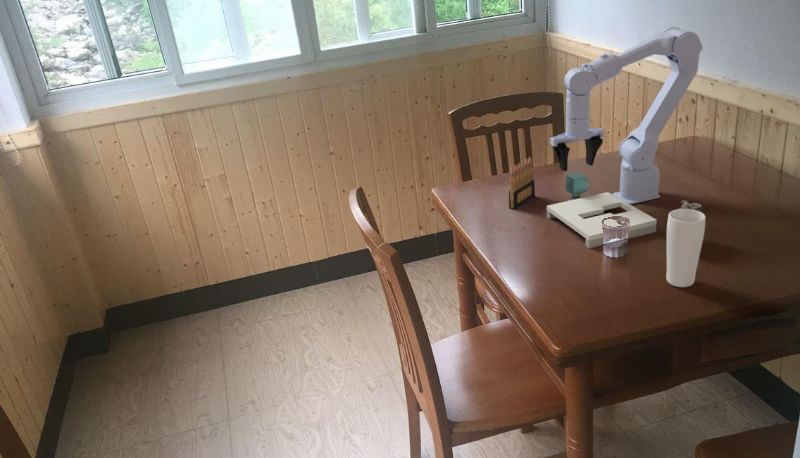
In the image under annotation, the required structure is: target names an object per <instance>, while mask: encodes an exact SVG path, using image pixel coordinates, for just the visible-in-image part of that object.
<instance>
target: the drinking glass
mask: <svg viewBox="0 0 800 458" xmlns="http://www.w3.org/2000/svg"><path fill="white" fill-rule="evenodd" d="M706 219H707V217H706V215H705V214H704V213H703V212H699V211H696V210H692V209H679V208H677V209H673V210H671V211H670V212H669V213H668V217H667V223H666V272H665V273H666V275H665V278H666V281H667V283H668V284H670V285H671V286H674V287H677V288H688V287H691V286H693V285H694V284H695V281H696V280H695V279H696V273H697V268H698V263H699V259H700V257H701V256H700V255H701V252H702V251H701V250H702V246H703V241H704V236H705V230H706Z"/></svg>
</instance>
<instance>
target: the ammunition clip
mask: <svg viewBox="0 0 800 458" xmlns="http://www.w3.org/2000/svg"><path fill="white" fill-rule="evenodd" d="M532 160H533V159H532V156H528V158H525V160H522V161H521V162H518V164H515V165H514V167H513V166H511V169H510V177H509V190H508V208H509V209H511V210H517V209H518V208H519V207H521V206H523V205H524V204H526V203H528V202H529V201H530V200H531V199H533V198H535V197H536V188H535V186H536V185H535V179H534V168H533V161H532Z"/></svg>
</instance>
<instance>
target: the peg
mask: <svg viewBox="0 0 800 458" xmlns="http://www.w3.org/2000/svg"><path fill="white" fill-rule="evenodd" d="M565 191H567V193H570V194H571V195H572V196H569V197H567V201H570V200H575V199H579V198H584V197H582V196H581V194H584V193H588V176H587V175H585V174H583V173H582V172H580V171H578V172H573V173H569V174H565Z"/></svg>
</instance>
